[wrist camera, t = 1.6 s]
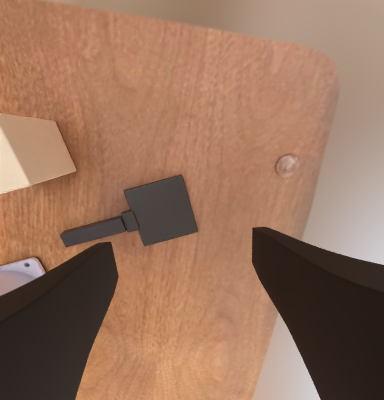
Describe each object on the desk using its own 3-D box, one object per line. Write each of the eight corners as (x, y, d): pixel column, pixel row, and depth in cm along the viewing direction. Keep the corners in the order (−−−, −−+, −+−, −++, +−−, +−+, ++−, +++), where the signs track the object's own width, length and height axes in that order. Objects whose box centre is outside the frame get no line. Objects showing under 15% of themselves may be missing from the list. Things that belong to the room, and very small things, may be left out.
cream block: (31, 183, 18) (-37, 204, 13) (5, 134, 17) (-83, 132, 11) (77, 171, 18) (31, 185, 12) (55, 120, 17) (-9, 111, 11)
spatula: (80, 262, 21) (76, 267, 20) (53, 209, 19) (47, 212, 18) (197, 230, 21) (198, 234, 20) (181, 174, 19) (181, 175, 18)
